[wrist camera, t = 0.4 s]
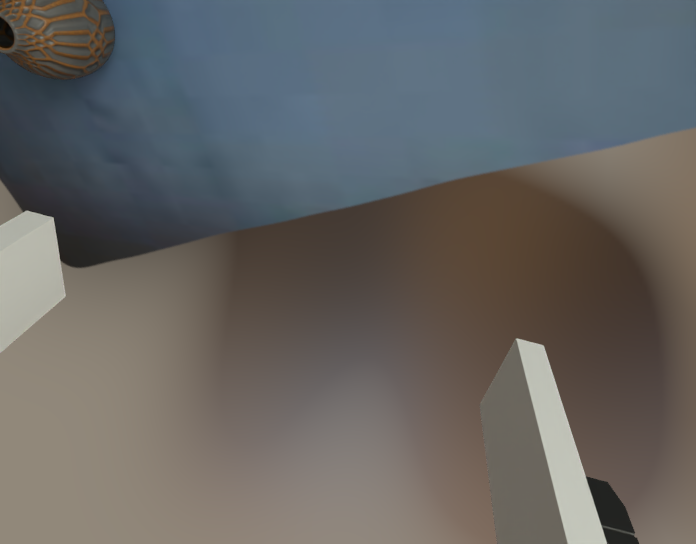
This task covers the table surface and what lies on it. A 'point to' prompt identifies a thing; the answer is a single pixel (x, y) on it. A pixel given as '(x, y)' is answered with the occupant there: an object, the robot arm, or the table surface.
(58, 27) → the vase
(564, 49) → the table surface
